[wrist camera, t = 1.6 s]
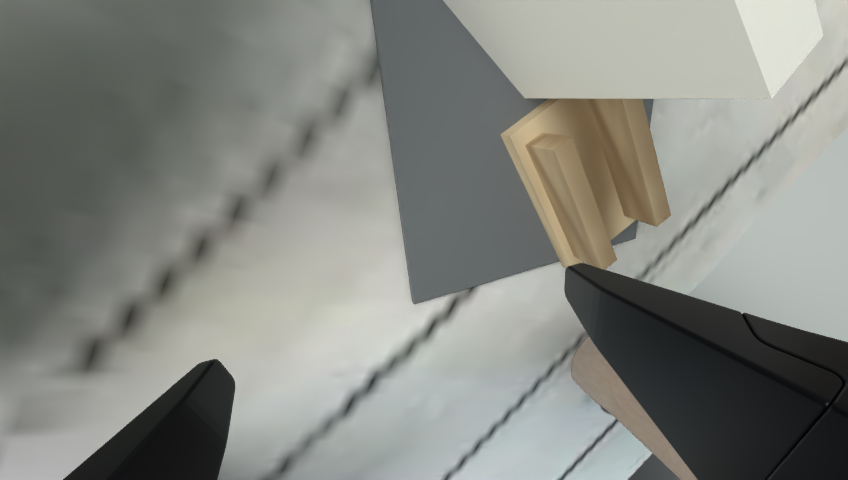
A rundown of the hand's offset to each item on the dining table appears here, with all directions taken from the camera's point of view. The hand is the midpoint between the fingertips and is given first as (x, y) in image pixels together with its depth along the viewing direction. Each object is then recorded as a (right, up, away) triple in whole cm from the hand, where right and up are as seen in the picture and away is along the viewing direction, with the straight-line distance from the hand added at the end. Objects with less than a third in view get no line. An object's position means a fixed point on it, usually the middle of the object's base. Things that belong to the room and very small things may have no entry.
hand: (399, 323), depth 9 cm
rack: (+11, +6, +15) cm, 19 cm away
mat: (+7, +9, +13) cm, 17 cm away
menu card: (+5, +13, +10) cm, 17 cm away
